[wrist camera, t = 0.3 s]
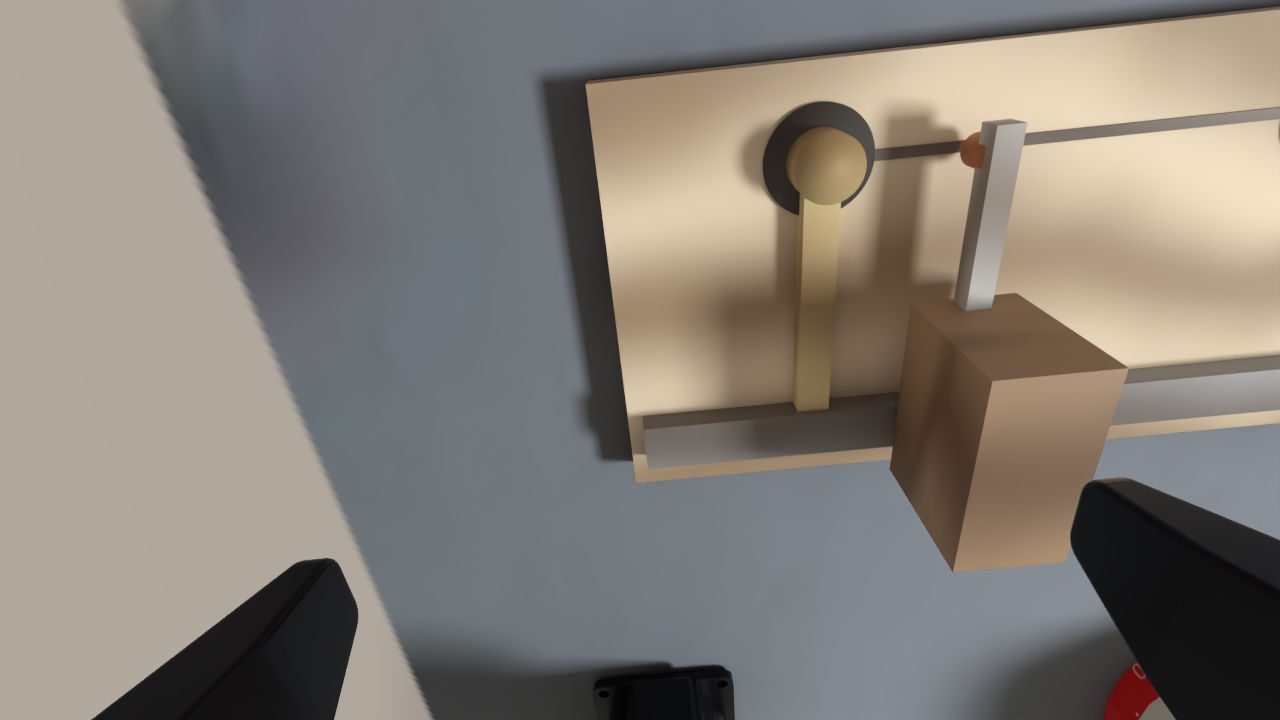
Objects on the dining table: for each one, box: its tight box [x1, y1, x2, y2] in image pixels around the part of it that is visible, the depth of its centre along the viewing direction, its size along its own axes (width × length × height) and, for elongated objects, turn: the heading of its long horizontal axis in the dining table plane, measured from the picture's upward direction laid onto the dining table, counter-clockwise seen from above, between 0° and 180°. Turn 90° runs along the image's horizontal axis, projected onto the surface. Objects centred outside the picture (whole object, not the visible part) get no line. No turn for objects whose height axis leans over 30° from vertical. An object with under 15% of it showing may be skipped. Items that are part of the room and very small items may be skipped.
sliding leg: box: [890, 119, 1129, 572], centre depth 16 cm, size 11×3×5 cm, turn 5°
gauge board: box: [586, 6, 1280, 483], centre depth 18 cm, size 13×25×2 cm, turn 95°
